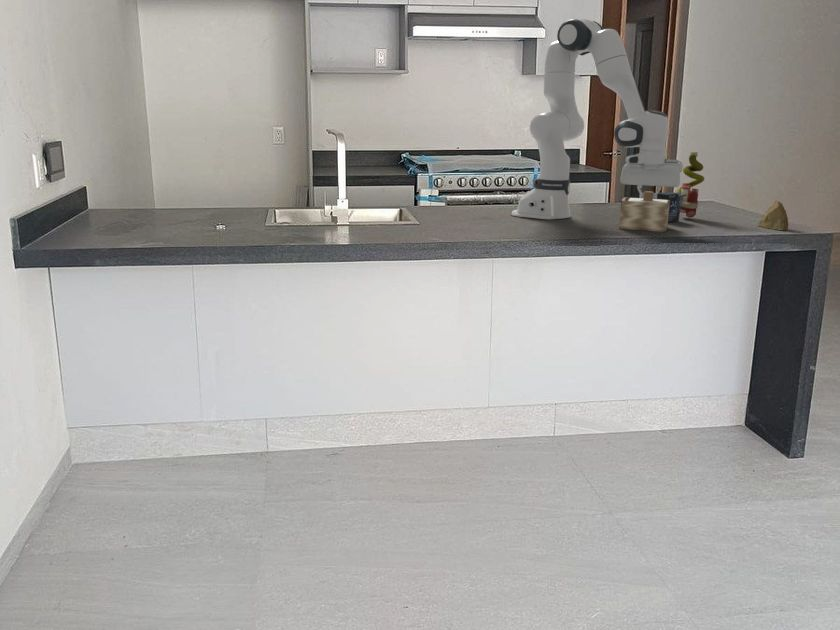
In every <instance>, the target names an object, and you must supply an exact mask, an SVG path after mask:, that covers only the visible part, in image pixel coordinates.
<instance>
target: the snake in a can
mask: <svg viewBox="0 0 840 630" xmlns="http://www.w3.org/2000/svg"><path fill="white" fill-rule="evenodd" d="M689 153H690V154H689V156H688V161H689V164H690V165H687V166H685V167H684V168H682V173H683V174H684V175H685V176H686V177H689V178H691V179H693V180H692V181H688V182H687V183H685V182H684V183H682V184H681V187H679V188H678V189H677V191H676V192H675V193H681V194H682V197H681V206H680V213H681V214H685V216H686V217H687V218H694V217H695V216H696V215H697V209H698V205H699V200H698V199H699V190H700V189H698V188H693V187H695V186H697V185H699V184H701V183H703V182H705V177H704V176H703V175H702V174H699V173H696V172H701V171H703V169H704V165H703V164H702V163H701V162H700V161H698V160H697V157H698V153H699V152H697V151H690V152H689ZM691 188H692V189H691Z"/></svg>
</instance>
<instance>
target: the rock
mask: <svg viewBox="0 0 840 630" xmlns="http://www.w3.org/2000/svg"><path fill="white" fill-rule="evenodd" d="M757 227H760V228H763V229H771V230H778V231H788V230H789V218H788V214H787V210H786V209H785V207H784V205H783V203H781V202H780V201H779V200H777V199H776V200H775V201H774V202H773V203H772V204H771V206H770V207H769V208H768V209H767V210H766V212H765V214H764V215H762V217H761V218H760V220H759V223H758V225H757Z"/></svg>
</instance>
